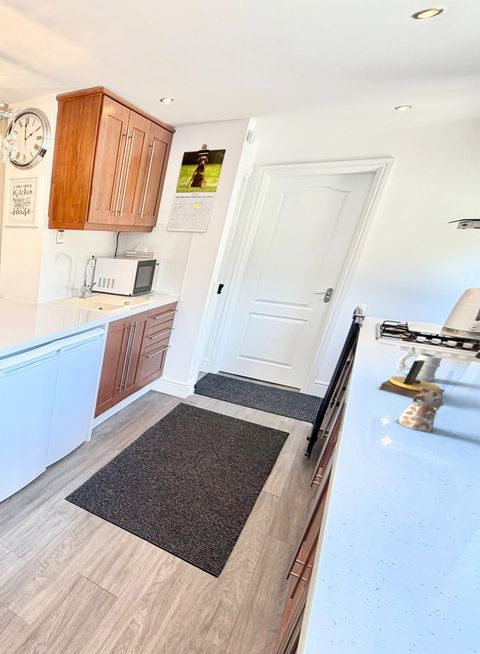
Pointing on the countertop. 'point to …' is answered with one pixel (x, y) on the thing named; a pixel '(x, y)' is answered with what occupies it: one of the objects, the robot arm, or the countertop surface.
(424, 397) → the figurine
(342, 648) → the countertop surface
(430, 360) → the mug
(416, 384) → the wheel
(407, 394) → the wheel base
